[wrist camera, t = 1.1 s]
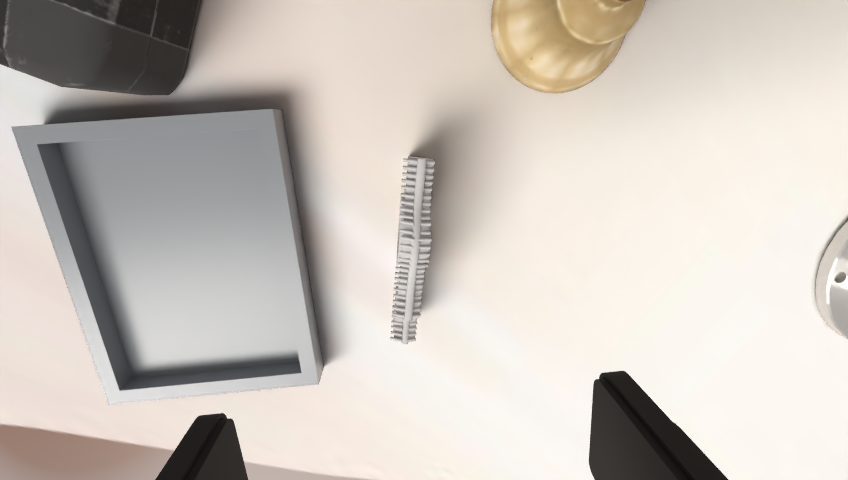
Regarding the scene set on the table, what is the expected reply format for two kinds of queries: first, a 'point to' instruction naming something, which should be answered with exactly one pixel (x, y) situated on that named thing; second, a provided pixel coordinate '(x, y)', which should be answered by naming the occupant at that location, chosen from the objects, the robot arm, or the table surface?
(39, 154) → the tray
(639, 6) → the hand bell
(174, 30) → the cash box
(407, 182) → the white toothed rack
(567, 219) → the table surface
